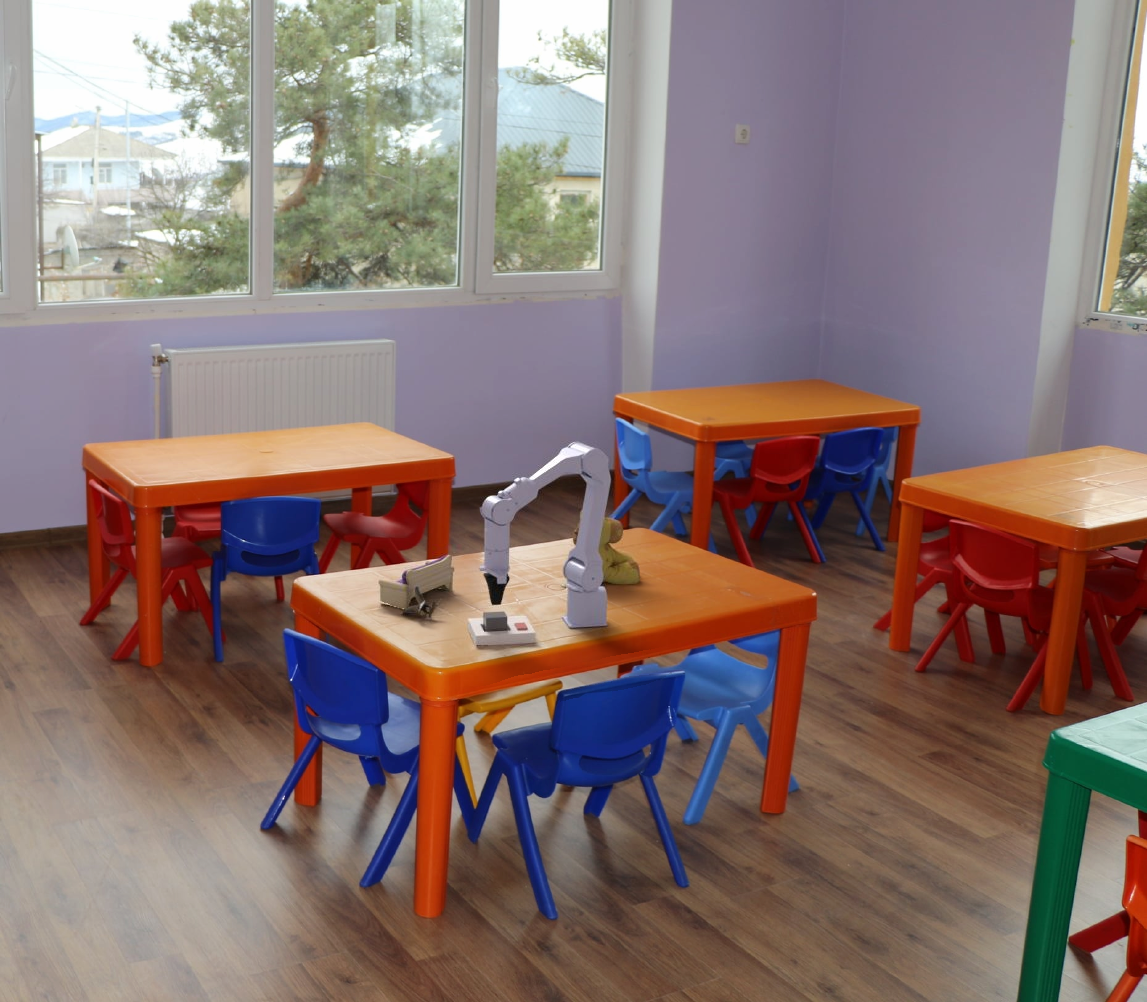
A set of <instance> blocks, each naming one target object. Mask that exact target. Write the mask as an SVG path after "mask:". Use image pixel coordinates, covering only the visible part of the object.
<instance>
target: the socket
mask: <svg viewBox="0 0 1147 1002" xmlns="http://www.w3.org/2000/svg"><path fill="white" fill-rule="evenodd" d="M467 630H468V632H469V634H471V635H470V636H471V639H472V638H473V639H472V641H473V643H474V645H482V646H481V647H484V646H483V645H488V646H502V645H504V646H505V645H519V644H520V645H521V644H535V643H536V634H537V633H536V631H535V628H533V626H532V624H531V622H530V620H529V619H528V617H527V616H526V615H512V616H510V615H509V616H508V615H507V631H492V632H484V631H483V617H474V618H473V617H472V618H471V617H468V618H467Z"/></svg>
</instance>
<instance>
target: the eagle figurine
mask: <svg viewBox="0 0 1147 1002" xmlns="http://www.w3.org/2000/svg"><path fill="white" fill-rule="evenodd" d="M414 598H415V599H416V601H417V603H418V604H417V605H411V606H409V607H408V608H407V609H406V610H404V611H402V612H403V614H406V613H410V614H413V613H416V612H417V611H418V612H420V611H421V612H423V613H424V614H426V615H428V618H431V619H432V615H433V613H434V611H435V609H436V608H437V607H438V606H439V605H440V604H441V602H442V600H443V598H441V599H440V600H438V601H437V602H436V601H435V599H432V602H431V604H427V603H425V602H426V600H425V598H424V596H423V593H422V594H421V593H420V591H419V588H418V587H416V588H415V597H414ZM427 609H429V610H427ZM403 614H402V615H403Z"/></svg>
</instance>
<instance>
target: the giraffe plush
mask: <svg viewBox="0 0 1147 1002" xmlns="http://www.w3.org/2000/svg"><path fill="white" fill-rule="evenodd" d="M579 513H580V514H579V521H578V522H577V527H576V528H575V529H574V530H573V532H572V533H573V536H574V537H573V538H572V543H573V545H574V547H575V546H576V542H577V537H578V531H579V526H580V520H581V515H582V509H581V511H580V512H579ZM623 535H624V526H623V524H622V522H621V521H620V520H618V519H615V518H611V517H606V516H604V521H603V526H602V532H601V537H600V543H599V548H598V552H599V554H600V556H601V559H602V561H603V564H602V571H603V581H602V583H603V582H605V583H606V582H607V583H608V584H612V585H619V584H620V585H623V584H625V585H634V584H635V585H636V584H639V582H640V579H641V575H640V574H641V572H640V567H639V563H638V562H637V561H635V560H634V558H633V557H632V556H631V555H630V554H628V553H625V552H621V551H620V550H617V549H615V548H613V547H612V545H611V544H613V545H614V544H617V543H619V542H620V541H621V540H622V537H623ZM561 585H562V586H561V587H562V588H565V587H566V588H568V585H567V583H563V584H561Z"/></svg>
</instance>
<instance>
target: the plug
mask: <svg viewBox="0 0 1147 1002" xmlns="http://www.w3.org/2000/svg"><path fill="white" fill-rule="evenodd" d="M482 614H483V615H482V618H483V631H484V632H492V631H507V616H508V615H507V614H506V612H505V611H503V610H502V611H490V612H489V611H488V612H487V611H486V612H485V611H483V612H482Z"/></svg>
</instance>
